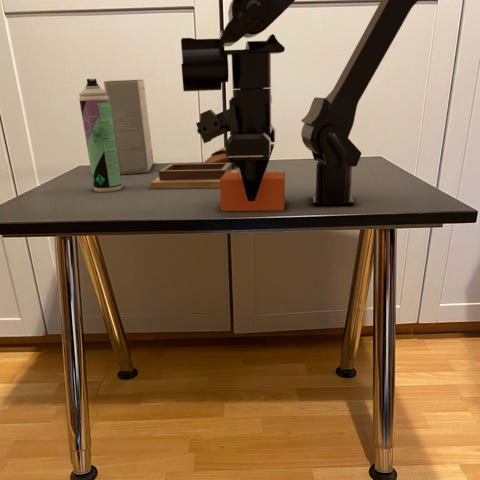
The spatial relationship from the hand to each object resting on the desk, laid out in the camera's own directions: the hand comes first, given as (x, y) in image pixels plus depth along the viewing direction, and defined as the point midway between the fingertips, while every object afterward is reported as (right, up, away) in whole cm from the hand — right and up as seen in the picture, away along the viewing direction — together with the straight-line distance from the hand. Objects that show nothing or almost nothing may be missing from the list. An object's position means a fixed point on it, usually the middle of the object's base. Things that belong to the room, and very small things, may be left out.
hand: (254, 194), depth 79 cm
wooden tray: (-11, +9, +23) cm, 27 cm away
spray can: (-29, +6, +19) cm, 35 cm away
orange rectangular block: (0, -2, +1) cm, 2 cm away
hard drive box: (-28, +17, +41) cm, 53 cm away
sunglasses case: (-6, +18, +42) cm, 46 cm away
